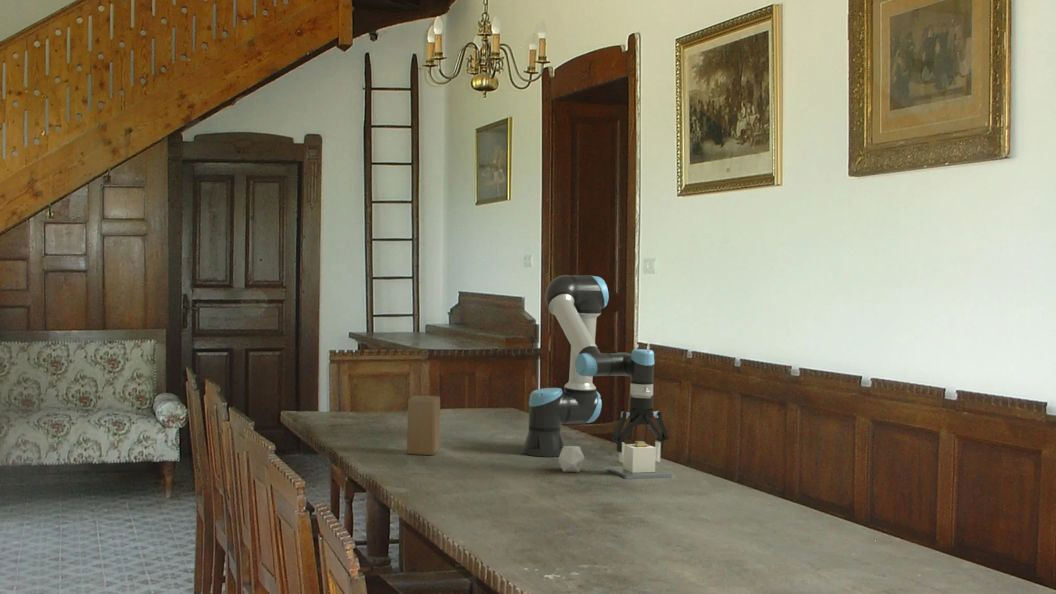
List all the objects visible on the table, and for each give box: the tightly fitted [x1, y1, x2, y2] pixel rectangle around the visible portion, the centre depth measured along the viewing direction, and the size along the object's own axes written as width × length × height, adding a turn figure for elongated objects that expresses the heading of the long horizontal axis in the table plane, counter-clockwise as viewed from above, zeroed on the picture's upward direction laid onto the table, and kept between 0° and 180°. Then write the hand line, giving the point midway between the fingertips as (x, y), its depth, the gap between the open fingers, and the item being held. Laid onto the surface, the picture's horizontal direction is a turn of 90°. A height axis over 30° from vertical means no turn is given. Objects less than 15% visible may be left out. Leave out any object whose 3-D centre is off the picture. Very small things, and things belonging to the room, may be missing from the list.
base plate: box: [607, 440, 673, 480], centre depth 363 cm, size 16×16×10 cm
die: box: [557, 445, 585, 473], centre depth 364 cm, size 8×9×10 cm
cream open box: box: [622, 443, 656, 473], centre depth 363 cm, size 8×8×8 cm
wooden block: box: [406, 394, 441, 456], centre depth 390 cm, size 10×10×20 cm
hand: (639, 461), depth 363 cm, fingers open, 12 cm apart
